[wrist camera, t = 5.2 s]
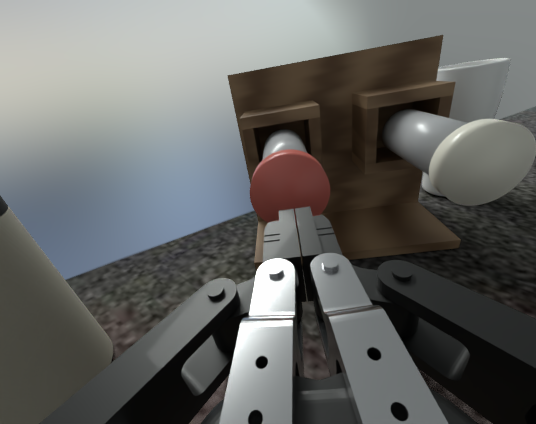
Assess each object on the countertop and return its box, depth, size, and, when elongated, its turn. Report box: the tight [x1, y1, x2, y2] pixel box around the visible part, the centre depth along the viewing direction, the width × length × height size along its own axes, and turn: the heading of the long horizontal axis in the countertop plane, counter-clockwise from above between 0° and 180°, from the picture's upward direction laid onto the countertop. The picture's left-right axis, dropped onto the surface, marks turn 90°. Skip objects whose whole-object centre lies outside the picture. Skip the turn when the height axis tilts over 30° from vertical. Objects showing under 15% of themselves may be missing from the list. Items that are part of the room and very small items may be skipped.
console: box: [228, 35, 461, 270], centre depth 25 cm, size 20×10×18 cm, turn 89°
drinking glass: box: [422, 58, 511, 196], centre depth 30 cm, size 7×7×15 cm
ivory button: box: [382, 109, 536, 206], centre depth 18 cm, size 5×10×5 cm, turn 179°
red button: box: [250, 129, 330, 227], centre depth 19 cm, size 5×10×5 cm, turn 179°
